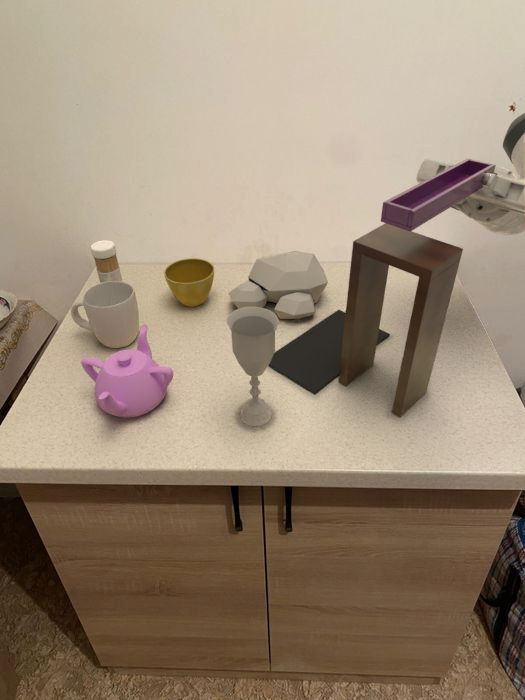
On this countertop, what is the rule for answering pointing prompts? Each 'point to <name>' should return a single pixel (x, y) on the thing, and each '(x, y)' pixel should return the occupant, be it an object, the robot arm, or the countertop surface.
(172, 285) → the mustard yellow bowl
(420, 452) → the countertop surface
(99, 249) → the sprinkles bottle
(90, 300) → the mug
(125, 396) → the teapot
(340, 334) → the charcoal mat
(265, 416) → the chalice
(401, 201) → the plum dish
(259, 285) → the rock
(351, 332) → the walnut stand
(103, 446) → the countertop surface
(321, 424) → the countertop surface
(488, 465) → the countertop surface
